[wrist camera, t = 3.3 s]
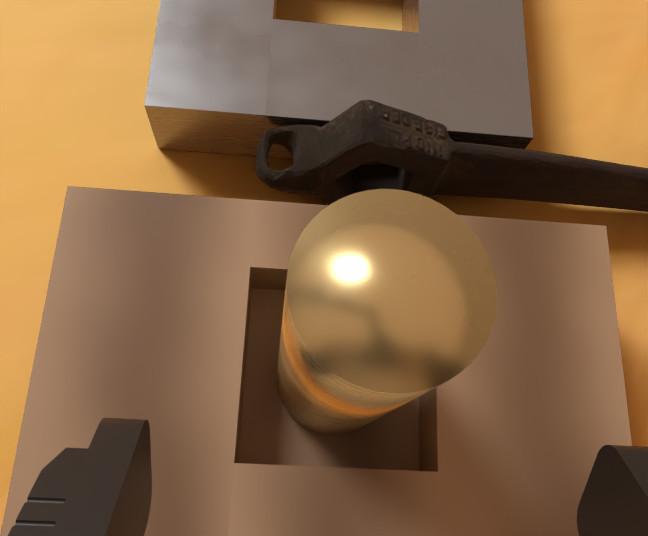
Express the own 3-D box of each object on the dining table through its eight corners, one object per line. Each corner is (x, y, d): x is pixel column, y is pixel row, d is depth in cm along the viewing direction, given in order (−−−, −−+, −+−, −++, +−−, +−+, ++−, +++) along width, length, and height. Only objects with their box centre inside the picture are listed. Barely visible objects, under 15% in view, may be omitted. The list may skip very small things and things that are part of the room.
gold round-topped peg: (272, 432, 19) (280, 387, 10) (280, 319, 20) (292, 181, 11) (387, 437, 19) (502, 398, 10) (388, 325, 21) (492, 196, 11)
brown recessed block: (55, 530, 20) (-2, 544, 16) (104, 240, 23) (67, 186, 19) (569, 548, 21) (646, 565, 17) (546, 270, 24) (606, 225, 20)
